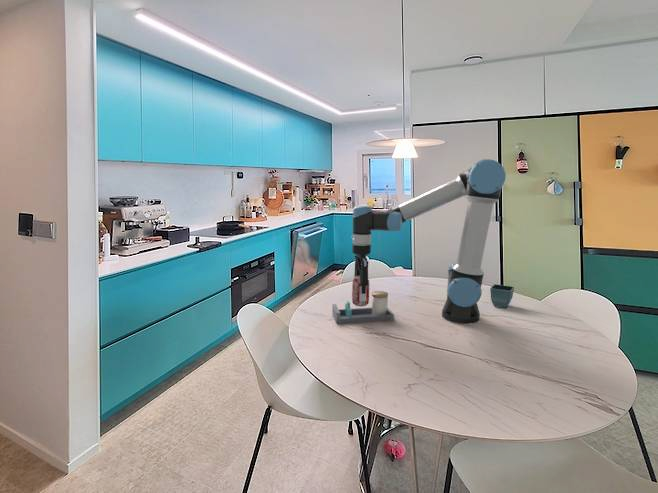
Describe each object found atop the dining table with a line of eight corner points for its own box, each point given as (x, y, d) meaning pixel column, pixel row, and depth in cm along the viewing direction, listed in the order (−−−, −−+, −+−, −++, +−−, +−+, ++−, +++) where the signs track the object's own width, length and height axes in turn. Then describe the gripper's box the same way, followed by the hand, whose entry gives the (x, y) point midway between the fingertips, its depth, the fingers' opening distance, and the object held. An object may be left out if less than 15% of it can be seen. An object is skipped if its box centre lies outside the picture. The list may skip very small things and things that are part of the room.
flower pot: (492, 301, 176) (494, 283, 174) (513, 305, 171) (514, 286, 169) (488, 306, 169) (489, 288, 167) (509, 310, 164) (511, 291, 162)
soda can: (368, 307, 150) (368, 279, 148) (351, 306, 152) (351, 278, 150) (369, 302, 157) (370, 275, 155) (353, 301, 159) (353, 274, 156)
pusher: (347, 313, 159) (347, 298, 158) (351, 321, 151) (351, 305, 149) (345, 314, 159) (345, 298, 157) (349, 321, 150) (349, 305, 149)
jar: (388, 314, 159) (389, 292, 157) (385, 319, 152) (386, 296, 151) (373, 312, 161) (373, 290, 159) (369, 317, 154) (370, 294, 153)
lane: (385, 312, 163) (386, 301, 162) (393, 321, 152) (394, 309, 151) (332, 315, 159) (332, 304, 158) (336, 324, 148) (336, 313, 148)
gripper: (347, 240, 159) (347, 291, 163) (358, 248, 140) (357, 306, 144) (364, 240, 160) (363, 290, 164) (377, 248, 141) (375, 305, 145)
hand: (360, 297), depth 154 cm, fingers closed on soda can, 7 cm apart
